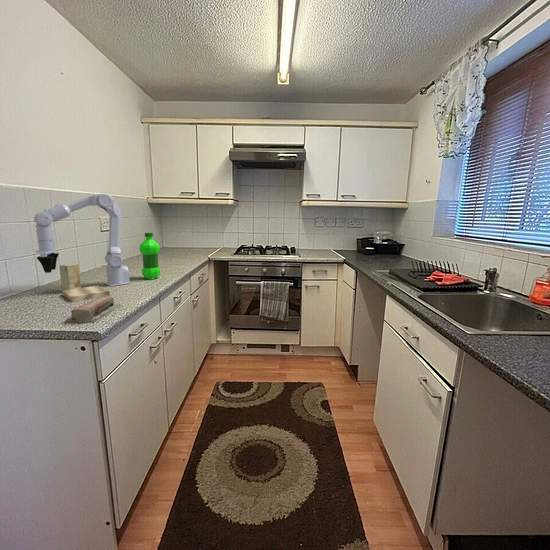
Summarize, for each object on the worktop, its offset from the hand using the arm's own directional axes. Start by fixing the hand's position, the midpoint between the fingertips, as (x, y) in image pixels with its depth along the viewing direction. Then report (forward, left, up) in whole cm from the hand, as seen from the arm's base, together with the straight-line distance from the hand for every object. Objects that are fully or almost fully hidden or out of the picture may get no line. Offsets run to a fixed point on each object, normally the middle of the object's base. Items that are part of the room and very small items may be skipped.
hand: (50, 271), depth 131 cm
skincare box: (-6, +4, -10) cm, 12 cm away
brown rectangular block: (-3, +45, -10) cm, 46 cm away
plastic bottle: (-44, +3, -10) cm, 46 cm away
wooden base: (-8, +17, -10) cm, 21 cm away
